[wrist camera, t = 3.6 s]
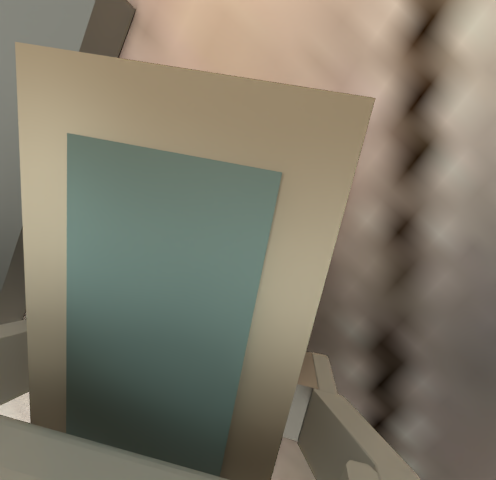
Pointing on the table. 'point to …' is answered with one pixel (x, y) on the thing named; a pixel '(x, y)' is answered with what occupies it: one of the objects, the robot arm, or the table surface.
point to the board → (6, 107)
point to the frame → (175, 250)
